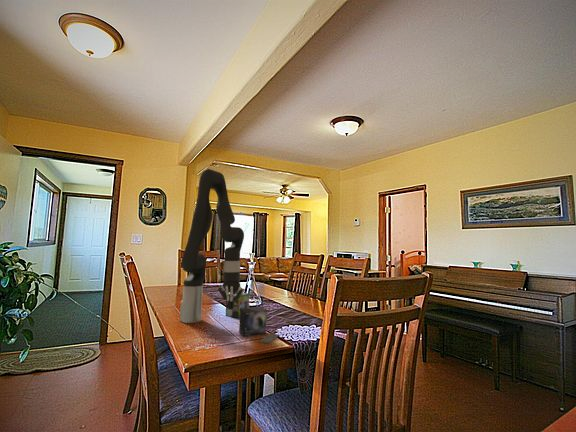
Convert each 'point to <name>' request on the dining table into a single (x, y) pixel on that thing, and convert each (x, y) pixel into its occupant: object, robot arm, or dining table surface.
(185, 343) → the dining table surface
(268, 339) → the felt mat
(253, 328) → the small box
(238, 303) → the chalk box
